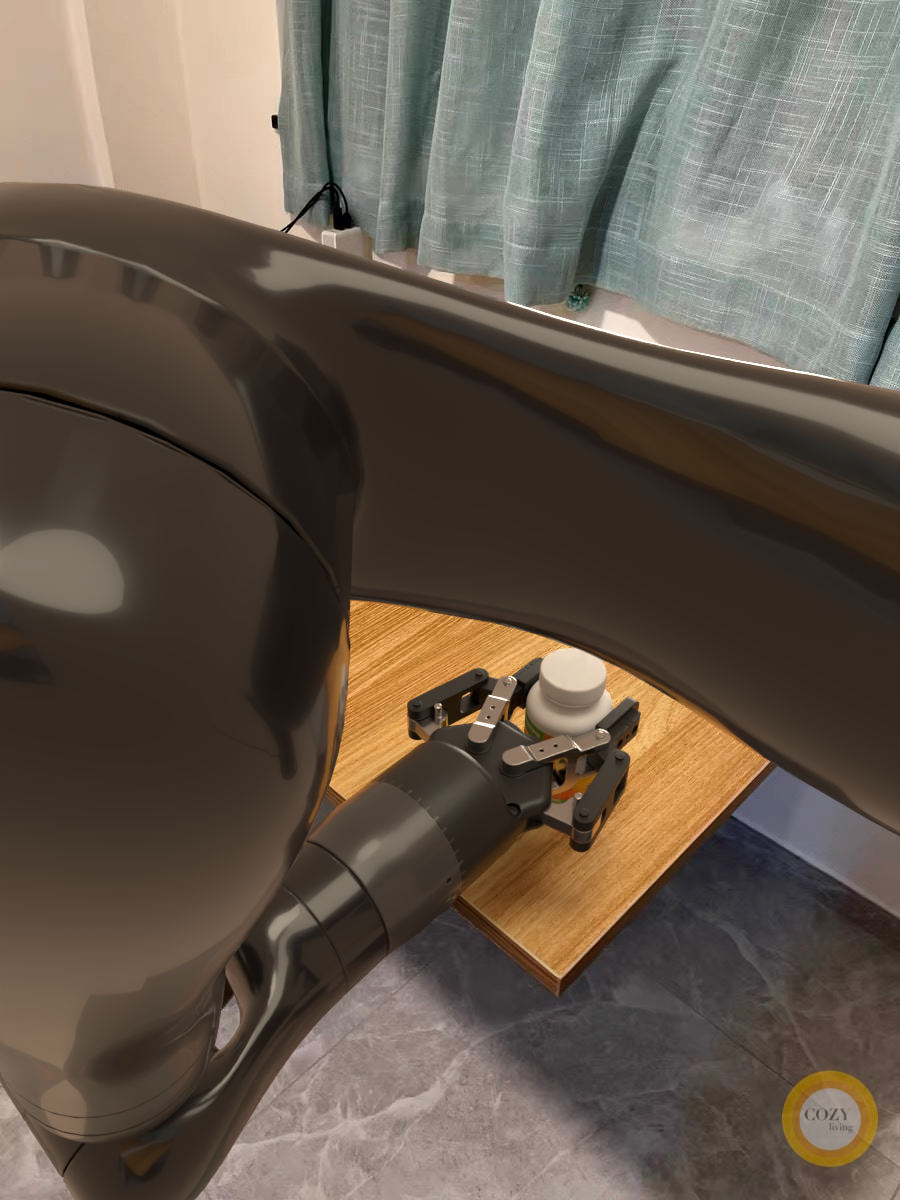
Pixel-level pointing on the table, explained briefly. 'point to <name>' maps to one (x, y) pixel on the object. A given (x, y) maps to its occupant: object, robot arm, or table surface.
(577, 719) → the supplement bottle
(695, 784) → the table surface
